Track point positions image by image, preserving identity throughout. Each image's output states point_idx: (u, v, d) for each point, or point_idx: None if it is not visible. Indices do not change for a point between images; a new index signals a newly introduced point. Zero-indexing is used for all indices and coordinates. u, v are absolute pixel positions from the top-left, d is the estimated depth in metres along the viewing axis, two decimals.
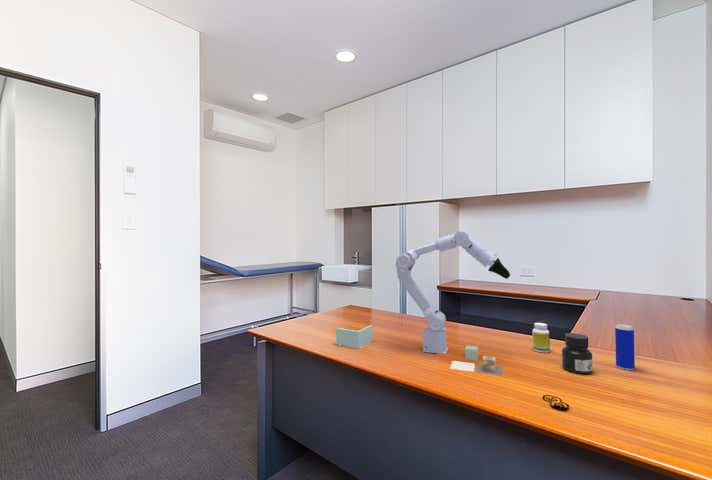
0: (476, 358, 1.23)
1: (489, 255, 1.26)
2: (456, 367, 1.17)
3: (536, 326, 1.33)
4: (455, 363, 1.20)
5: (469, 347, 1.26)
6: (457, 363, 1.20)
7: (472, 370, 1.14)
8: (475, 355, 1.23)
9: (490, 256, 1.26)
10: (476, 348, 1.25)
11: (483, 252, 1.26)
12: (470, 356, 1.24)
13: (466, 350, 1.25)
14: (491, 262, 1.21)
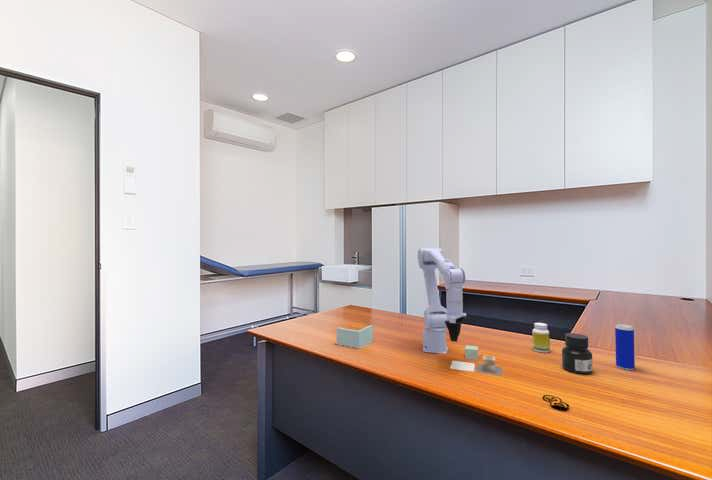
0: (476, 358, 1.23)
1: (458, 311, 1.16)
2: (456, 367, 1.17)
3: (536, 326, 1.33)
4: (455, 363, 1.20)
5: (469, 347, 1.26)
6: (457, 363, 1.20)
7: (472, 370, 1.14)
8: (475, 355, 1.23)
9: (458, 313, 1.16)
10: (476, 348, 1.25)
11: (457, 305, 1.16)
12: (470, 356, 1.24)
13: (466, 350, 1.25)
14: (453, 320, 1.12)
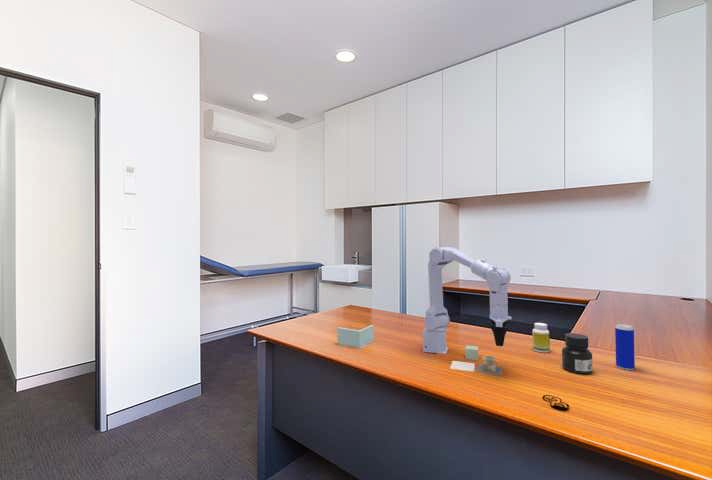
0: (476, 358, 1.23)
1: (504, 314, 1.10)
2: (456, 367, 1.17)
3: (536, 326, 1.33)
4: (455, 363, 1.20)
5: (469, 347, 1.26)
6: (457, 363, 1.20)
7: (472, 370, 1.14)
8: (475, 355, 1.23)
9: (504, 316, 1.10)
10: (476, 348, 1.25)
11: (502, 307, 1.10)
12: (470, 356, 1.24)
13: (466, 350, 1.25)
14: (500, 324, 1.06)
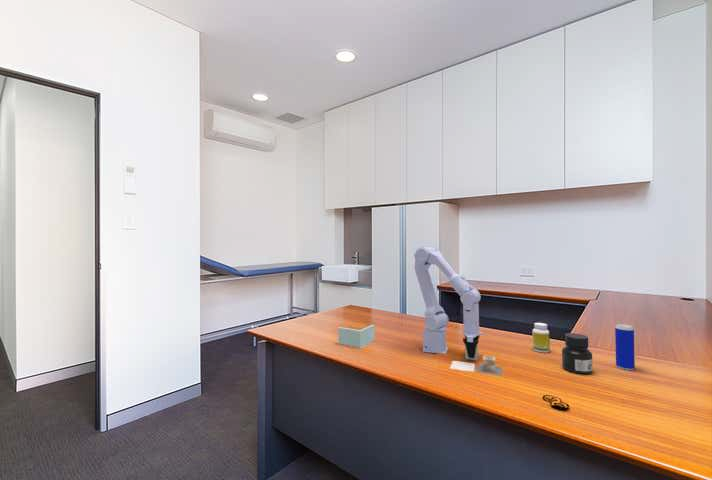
0: (476, 358, 1.23)
1: (475, 330, 1.23)
2: (456, 367, 1.17)
3: (536, 326, 1.33)
4: (455, 363, 1.20)
5: None
6: (457, 363, 1.20)
7: (472, 370, 1.14)
8: (475, 355, 1.23)
9: (475, 332, 1.23)
10: (476, 348, 1.25)
11: (474, 324, 1.23)
12: None
13: (466, 350, 1.25)
14: (471, 339, 1.19)
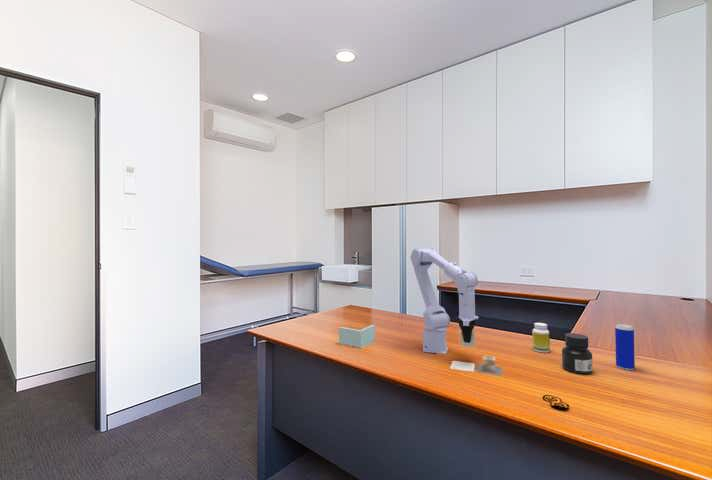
0: (472, 343, 1.19)
1: (471, 314, 1.20)
2: (456, 367, 1.17)
3: (536, 326, 1.33)
4: (455, 363, 1.20)
5: None
6: (457, 363, 1.20)
7: (472, 370, 1.14)
8: (472, 340, 1.20)
9: (471, 316, 1.20)
10: (472, 333, 1.21)
11: (470, 308, 1.19)
12: None
13: (462, 335, 1.21)
14: (467, 323, 1.15)
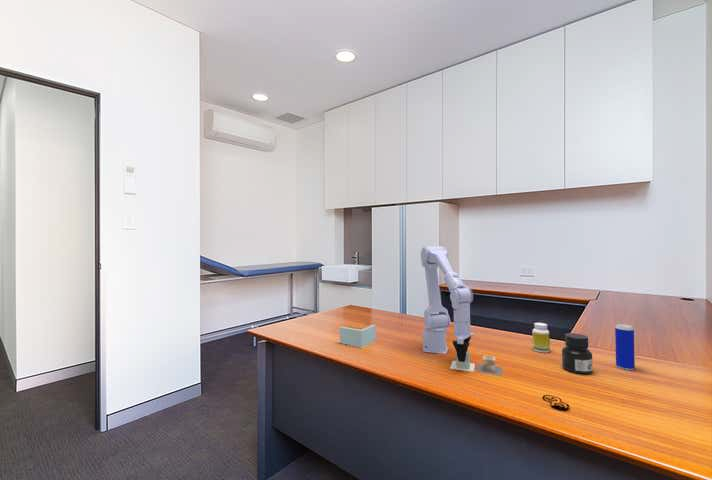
0: (468, 365, 1.15)
1: (466, 331, 1.15)
2: None
3: (536, 326, 1.33)
4: (455, 363, 1.20)
5: None
6: None
7: (472, 370, 1.14)
8: (467, 362, 1.15)
9: (466, 333, 1.15)
10: (468, 354, 1.17)
11: (464, 325, 1.15)
12: (461, 362, 1.16)
13: None
14: (461, 341, 1.11)
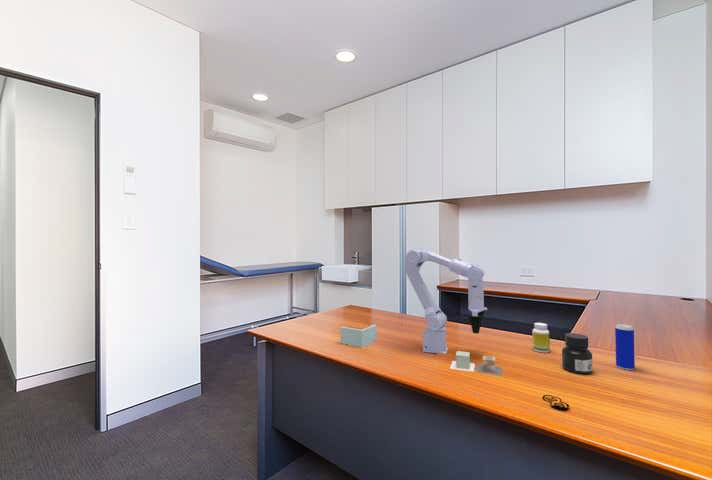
0: (468, 365, 1.15)
1: (480, 306, 1.25)
2: None
3: (536, 326, 1.33)
4: (455, 363, 1.20)
5: (460, 353, 1.18)
6: None
7: (472, 370, 1.14)
8: (467, 362, 1.15)
9: (480, 307, 1.25)
10: (468, 354, 1.17)
11: (478, 299, 1.25)
12: (461, 362, 1.16)
13: (457, 356, 1.16)
14: (475, 313, 1.21)
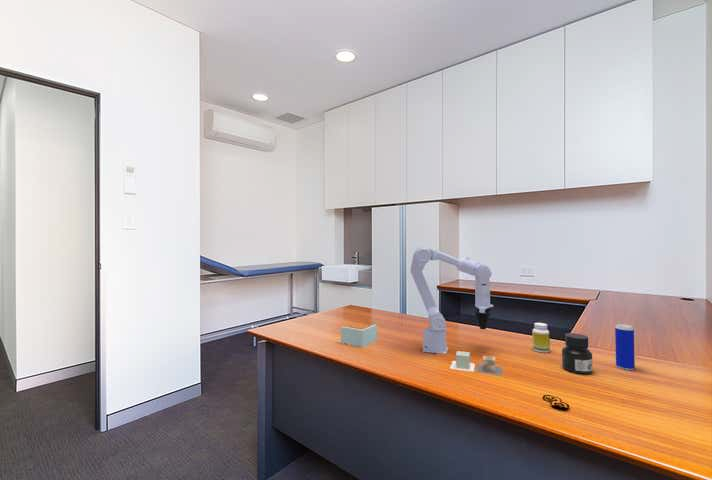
0: (468, 365, 1.15)
1: (487, 303, 1.31)
2: None
3: (536, 326, 1.33)
4: (455, 363, 1.20)
5: (460, 353, 1.18)
6: None
7: (472, 370, 1.14)
8: (467, 362, 1.15)
9: (487, 304, 1.31)
10: (468, 354, 1.17)
11: (485, 297, 1.31)
12: (461, 362, 1.16)
13: (457, 356, 1.16)
14: (483, 310, 1.27)
